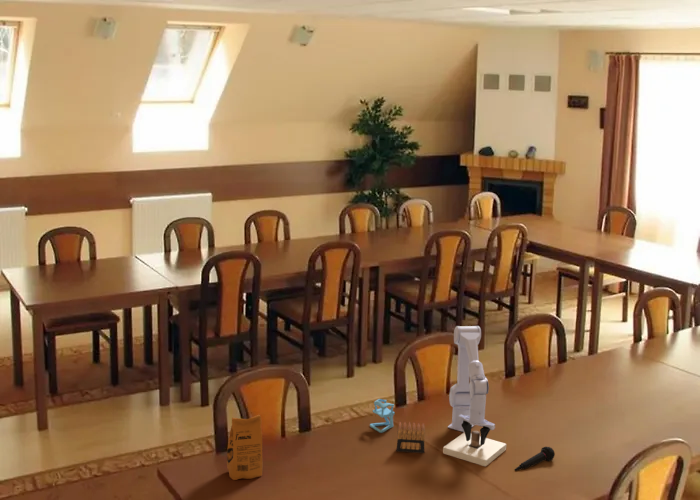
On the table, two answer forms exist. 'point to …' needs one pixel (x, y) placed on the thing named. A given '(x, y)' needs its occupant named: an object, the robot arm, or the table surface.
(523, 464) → the microphone
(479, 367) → the robot arm
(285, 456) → the table surface
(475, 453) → the cream board
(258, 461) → the coffee package
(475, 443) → the walnut peg
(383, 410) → the light blue bar frame
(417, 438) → the ammunition clip
